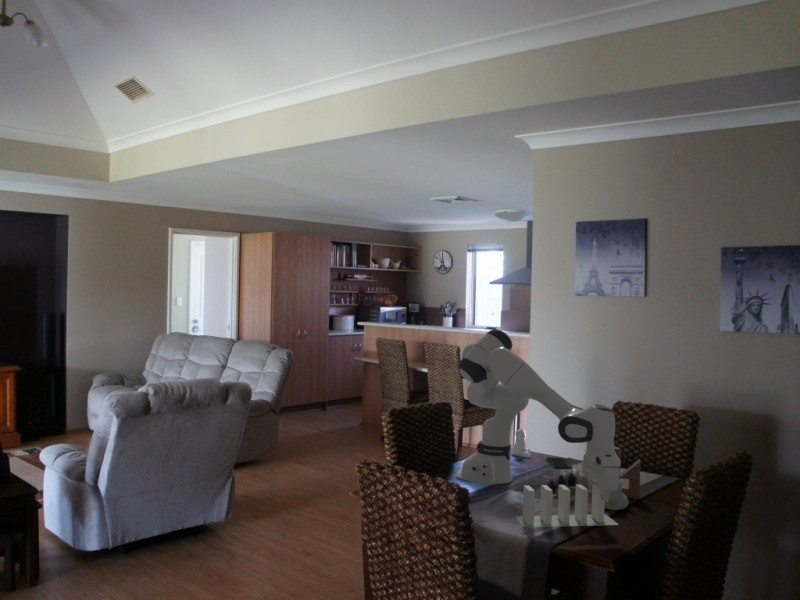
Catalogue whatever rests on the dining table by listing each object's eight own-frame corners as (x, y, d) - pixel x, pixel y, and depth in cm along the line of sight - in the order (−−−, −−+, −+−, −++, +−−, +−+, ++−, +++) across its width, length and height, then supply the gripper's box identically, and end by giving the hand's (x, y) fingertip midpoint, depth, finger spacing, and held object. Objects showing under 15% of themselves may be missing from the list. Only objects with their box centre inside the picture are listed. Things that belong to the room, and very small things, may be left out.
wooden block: (639, 499, 251) (641, 451, 250) (608, 496, 253) (610, 448, 252) (638, 496, 254) (640, 448, 254) (608, 493, 257) (609, 446, 256)
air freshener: (630, 508, 241) (631, 480, 240) (625, 515, 233) (626, 486, 233) (599, 502, 246) (600, 475, 246) (593, 508, 239) (594, 480, 239)
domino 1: (528, 524, 219) (529, 490, 218) (522, 518, 224) (523, 485, 224) (533, 524, 219) (534, 490, 219) (527, 518, 224) (529, 485, 224)
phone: (563, 457, 304) (572, 467, 289) (563, 460, 304) (572, 469, 289) (545, 457, 304) (553, 466, 289) (545, 460, 304) (553, 469, 289)
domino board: (524, 530, 216) (524, 527, 216) (514, 519, 226) (514, 516, 226) (618, 527, 221) (619, 524, 221) (605, 516, 231) (605, 513, 231)
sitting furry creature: (530, 458, 304) (531, 431, 304) (511, 457, 306) (512, 430, 305) (530, 453, 314) (531, 427, 313) (511, 452, 315) (512, 426, 315)
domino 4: (581, 523, 221) (582, 489, 221) (574, 517, 227) (575, 484, 227) (586, 523, 222) (587, 489, 221) (579, 517, 227) (580, 484, 227)
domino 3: (563, 523, 220) (565, 490, 220) (557, 517, 226) (558, 484, 226) (569, 523, 221) (570, 490, 220) (562, 517, 226) (563, 484, 226)
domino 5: (598, 522, 222) (599, 489, 222) (591, 516, 228) (592, 484, 227) (603, 522, 223) (605, 489, 222) (596, 516, 228) (597, 484, 228)
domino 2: (546, 524, 220) (547, 490, 219) (540, 518, 225) (541, 485, 225) (551, 524, 220) (552, 490, 219) (545, 517, 225) (546, 485, 225)
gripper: (578, 446, 234) (576, 486, 235) (604, 463, 214) (602, 506, 214) (595, 446, 235) (594, 486, 236) (623, 462, 215) (621, 506, 215)
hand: (598, 496), depth 225 cm, fingers open, 8 cm apart
